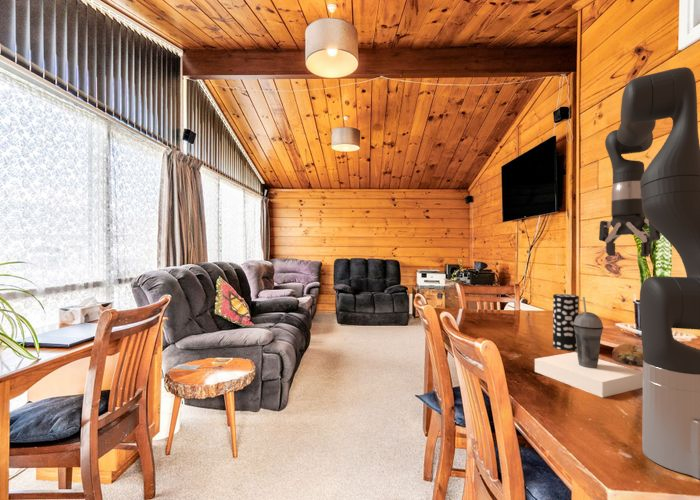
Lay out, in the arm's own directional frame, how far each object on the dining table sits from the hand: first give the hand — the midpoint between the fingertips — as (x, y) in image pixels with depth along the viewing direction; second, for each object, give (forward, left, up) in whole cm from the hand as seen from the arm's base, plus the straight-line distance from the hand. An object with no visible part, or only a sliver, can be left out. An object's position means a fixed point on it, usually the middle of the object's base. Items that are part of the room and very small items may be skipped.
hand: (627, 256), depth 99 cm
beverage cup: (+6, +8, -32) cm, 34 cm away
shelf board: (+6, +8, -36) cm, 37 cm away
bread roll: (+11, -21, -36) cm, 43 cm away
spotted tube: (+30, -16, -36) cm, 50 cm away
